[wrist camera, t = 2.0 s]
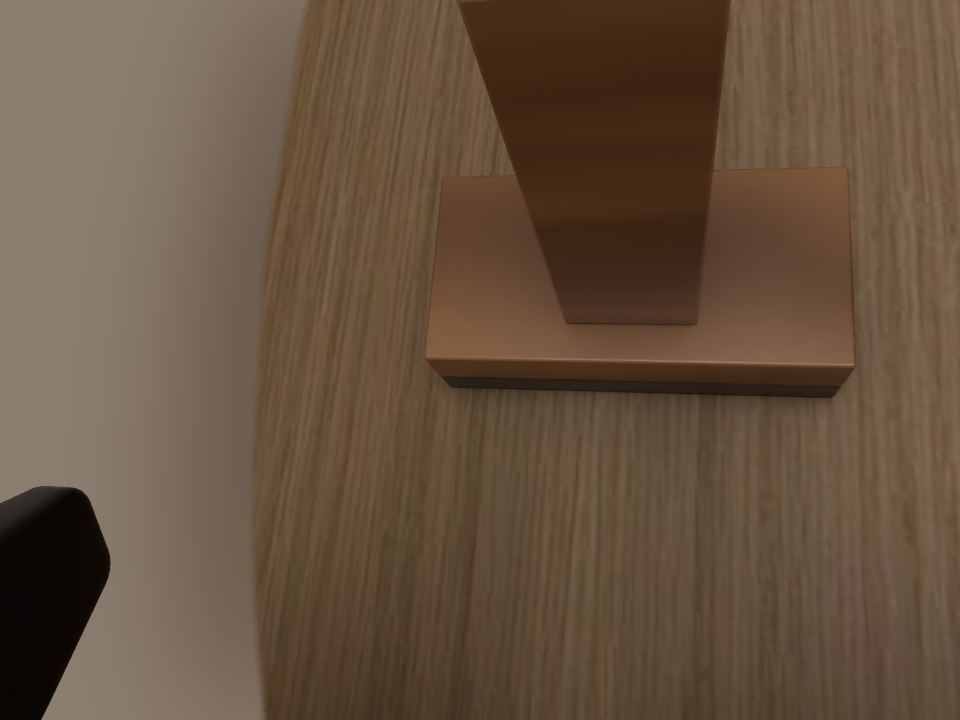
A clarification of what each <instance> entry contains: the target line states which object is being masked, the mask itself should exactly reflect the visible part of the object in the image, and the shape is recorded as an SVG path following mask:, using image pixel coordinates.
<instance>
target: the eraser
mask: <svg viewBox="0 0 960 720" xmlns="http://www.w3.org/2000/svg"><path fill="white" fill-rule="evenodd" d="M457 3H458V6H459V9H460V12H461V15H462V18H463V21H464V24H465V27H466V29H467V32H468V35H469V38H470V41H471V44H472V47H473V50H474V53H475V56H476V59H477V62H478V65H479V68H480V71H481V74H482V77H483V80H484V83H485V86H486V89H487V92H488V95H489V98H490V101H491V104H492V107H493V110H494V113H495V115H496V118H497V121H498V124H499V127H500V130H501V133H502V136H503V139H504V142H505V145H506V148H507V151H508V154H509V157H510V160H511V163H512V166H513V169H514V172H515V175H509V176H470V177H444V178H443V179H442V186H441V196H440V206H439V215H438V225H437V235H436V245H435V255H434V265H433V275H432V284H431V294H430V304H429V314H428V324H427V334H426V344H425V353H424V358H425V360H426V361H427V362H428V363H429V364H430V365H431V366H432V367H433V368H434V369H435V371H436V372H437V373H438V374H439V375H440V376H441V377H442V378H443V379H444V380H445V381H446V382H447V383H448V384H449V386H451V387H480V388H516V389H553V390H589V391H625V392H661V393H697V394H733V395H770V396H806V397H833V396H835V394H836V393H837V391H838V390H839V389H840V387H841V385H843V384H844V382H845V381H846V380H847V378H848V377H849V376H850V374H851V373H852V372H853V370H854V369H855V367H856V346H855V320H854V295H853V269H852V244H851V218H850V192H849V170H848V168H847V167H821V168H782V169H743V170H713V168H714V158H715V149H716V139H717V129H718V119H719V110H720V100H721V90H722V81H723V71H724V61H725V51H726V42H727V32H728V22H729V13H730V3H731V0H457Z"/></svg>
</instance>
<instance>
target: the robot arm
mask: <svg viewBox="0 0 960 720" xmlns="http://www.w3.org/2000/svg"><path fill="white" fill-rule="evenodd" d="M109 572H110V554H109V551H108V548H107V545H106V543H105V540H104V537H103V535H102V532H101V529H100V527H99V524H98V521H97V519H96V516H95V513H94V510H93V508H92V505H91V502H90V500H89V498H88V497H87V496H86V495H85V494H84V493H83V492H82V491H81V490H79V489H76V488H70V487H55V486H41V487H35V488H33V489H30V490H28V491H26V492H24V493H22V494H20V495H18V496H15V497H13V498H11V499H9V500H7V501H4V502H3V503H0V720H41V719H42V717H43V715H44V713H45V711H46V709H47V707H48V705H49V703H50V701H51V699H52V697H53V695H54V693H55V691H56V688H57V686H58V684H59V682H60V680H61V678H62V676H63V673H64V672H65V669H66V667H67V665H68V663H69V661H70V659H71V657H72V654H73V652H74V650H75V648H76V646H77V644H78V642H79V640H80V637H81V635H82V633H83V631H84V629H85V627H86V625H87V623H88V620H89V618H90V616H91V614H92V612H93V610H94V608H95V606H96V604H97V601H98V599H99V597H100V595H101V593H102V590H103V589H104V587H105V584H106V582H107V579H108V576H109Z"/></svg>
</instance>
